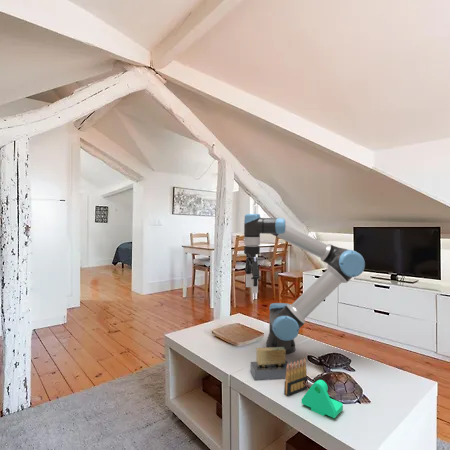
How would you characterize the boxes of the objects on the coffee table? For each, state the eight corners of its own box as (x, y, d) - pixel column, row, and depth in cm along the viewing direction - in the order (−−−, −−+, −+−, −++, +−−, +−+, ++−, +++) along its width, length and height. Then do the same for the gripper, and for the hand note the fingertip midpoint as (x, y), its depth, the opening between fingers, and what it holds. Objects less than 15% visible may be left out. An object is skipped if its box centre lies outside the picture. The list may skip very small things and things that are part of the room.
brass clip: (283, 372, 133) (283, 346, 133) (285, 375, 130) (285, 349, 130) (256, 373, 131) (256, 348, 131) (257, 377, 128) (258, 350, 128)
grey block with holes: (285, 369, 135) (285, 360, 135) (292, 378, 127) (292, 368, 127) (250, 371, 133) (250, 361, 133) (254, 380, 125) (254, 370, 125)
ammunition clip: (287, 397, 114) (287, 364, 114) (284, 394, 115) (284, 362, 115) (307, 389, 119) (308, 358, 119) (304, 386, 121) (304, 356, 121)
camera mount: (343, 411, 105) (344, 381, 105) (334, 421, 100) (334, 390, 100) (311, 397, 114) (311, 370, 114) (301, 406, 108) (301, 377, 108)
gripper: (239, 244, 158) (239, 284, 158) (249, 247, 134) (249, 296, 134) (253, 244, 159) (253, 284, 159) (266, 247, 135) (266, 295, 135)
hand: (251, 290), depth 146 cm, fingers open, 13 cm apart
